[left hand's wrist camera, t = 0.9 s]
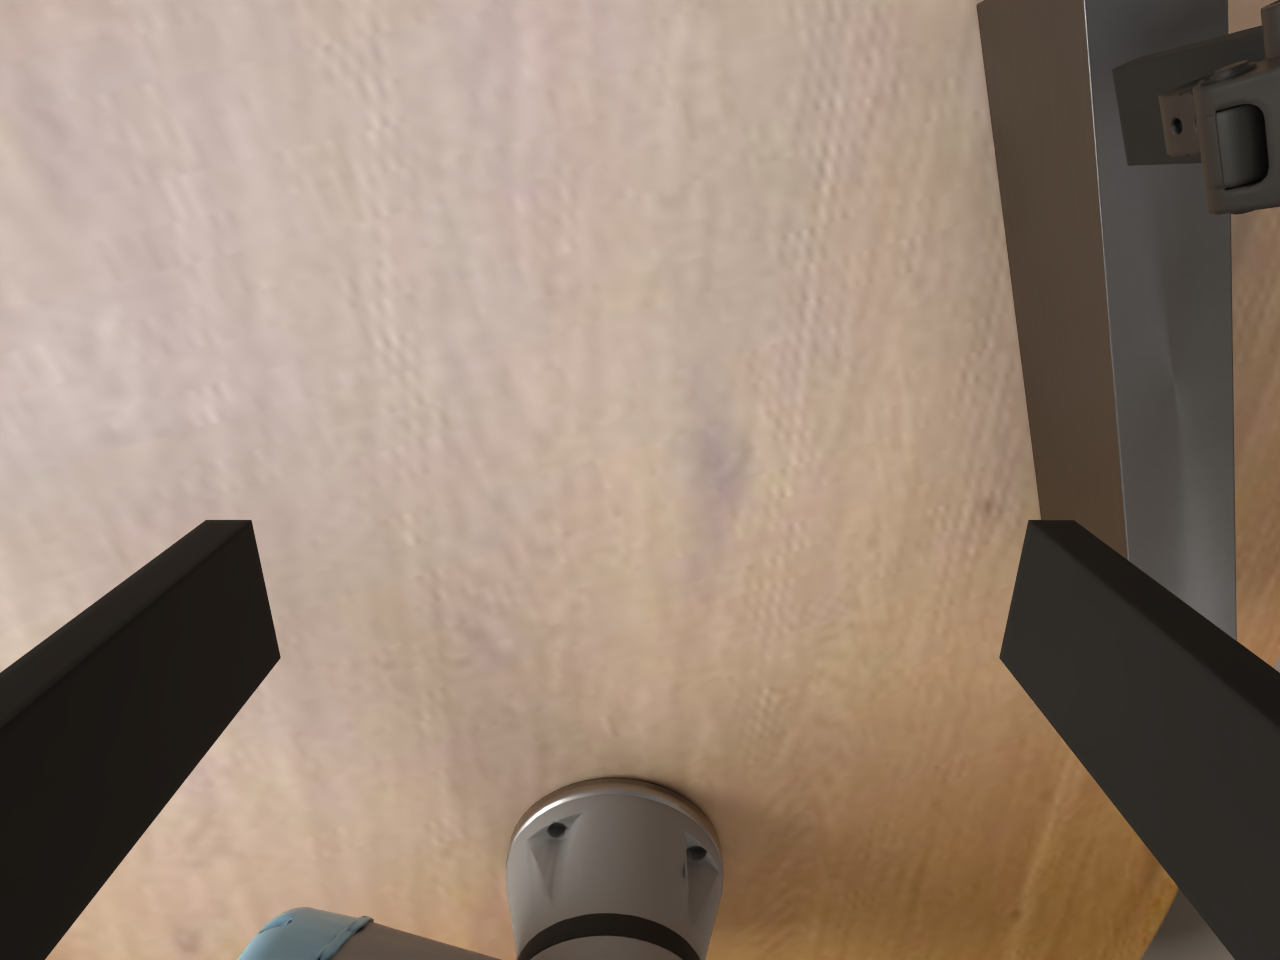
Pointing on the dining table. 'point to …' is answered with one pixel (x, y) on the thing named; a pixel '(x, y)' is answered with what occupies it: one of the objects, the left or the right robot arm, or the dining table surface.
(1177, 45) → the bar
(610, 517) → the dining table surface
